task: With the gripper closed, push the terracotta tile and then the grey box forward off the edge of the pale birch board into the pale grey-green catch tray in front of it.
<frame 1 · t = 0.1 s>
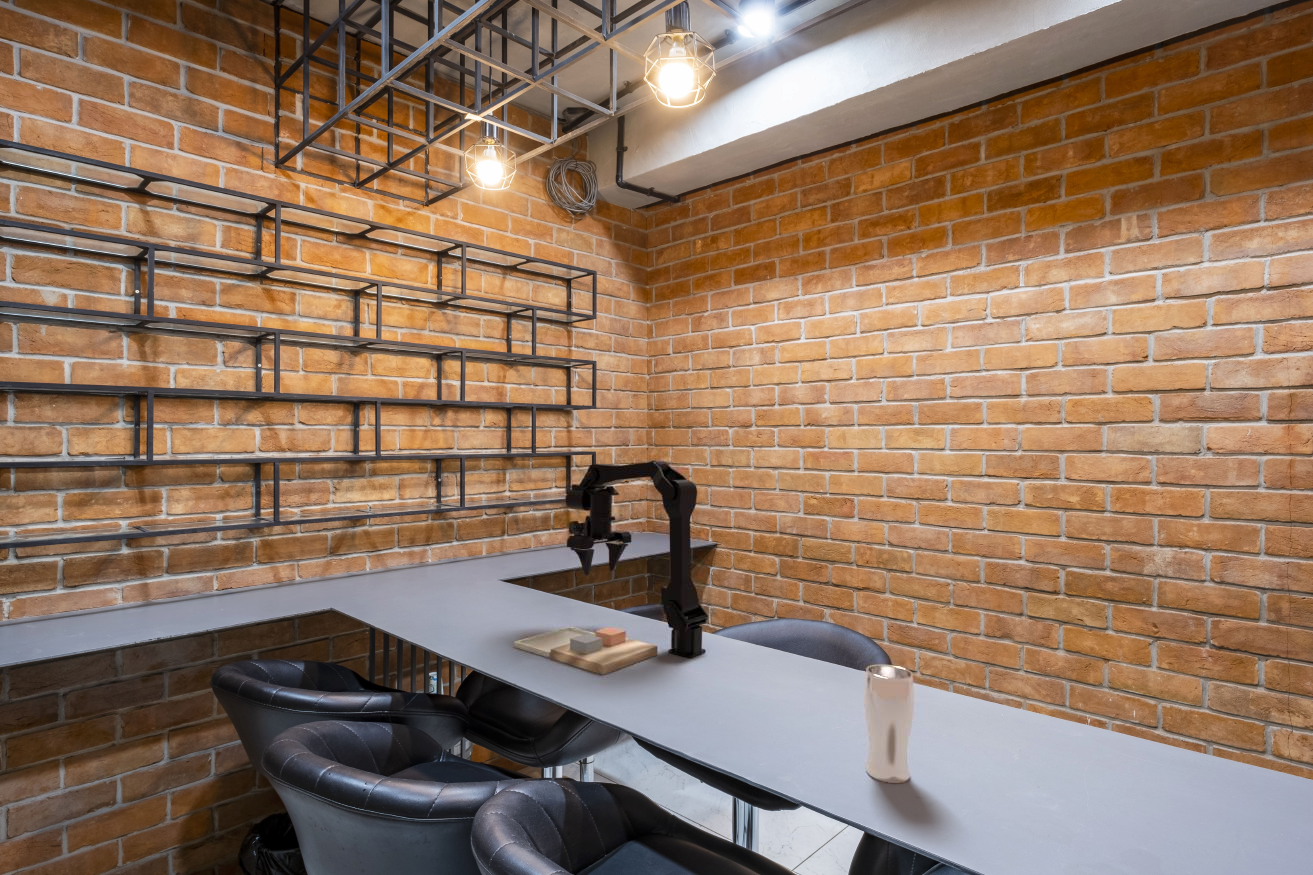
hand: (599, 572, 172), 15 cm above the counter, fingers open, 9 cm apart
catch tray: (559, 643, 159), on the counter
beer glass: (887, 774, 98), on the counter
birch board: (604, 656, 150), on the counter
grey box: (585, 649, 148), point 2 cm above the counter, touching birch board
terracotta tile: (610, 641, 155), point 2 cm above the counter, touching birch board
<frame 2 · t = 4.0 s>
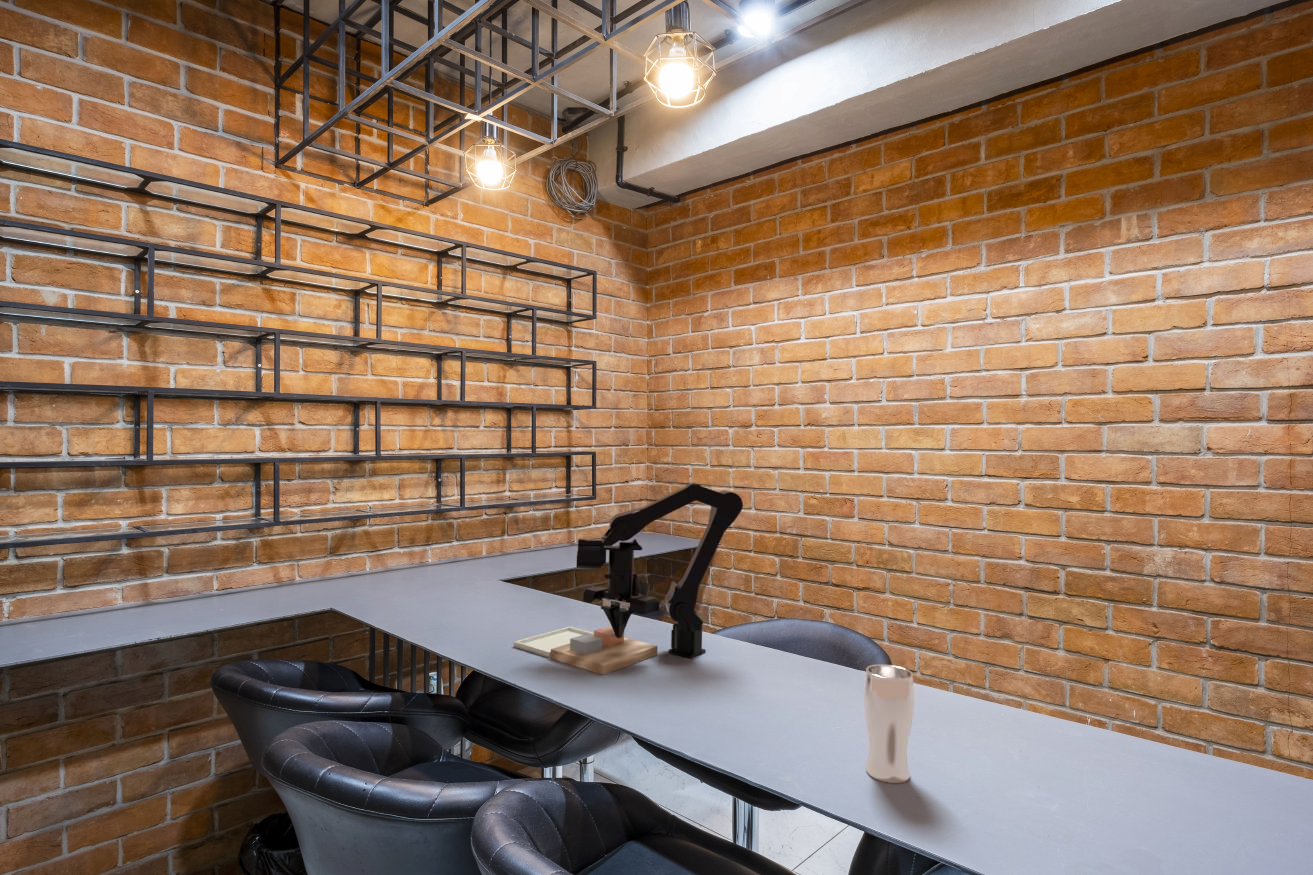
hand: (619, 637, 153), 4 cm above the counter, fingers closed
terracotta tile: (608, 641, 155), point 2 cm above the counter, touching birch board, gripper
everything else where it was.
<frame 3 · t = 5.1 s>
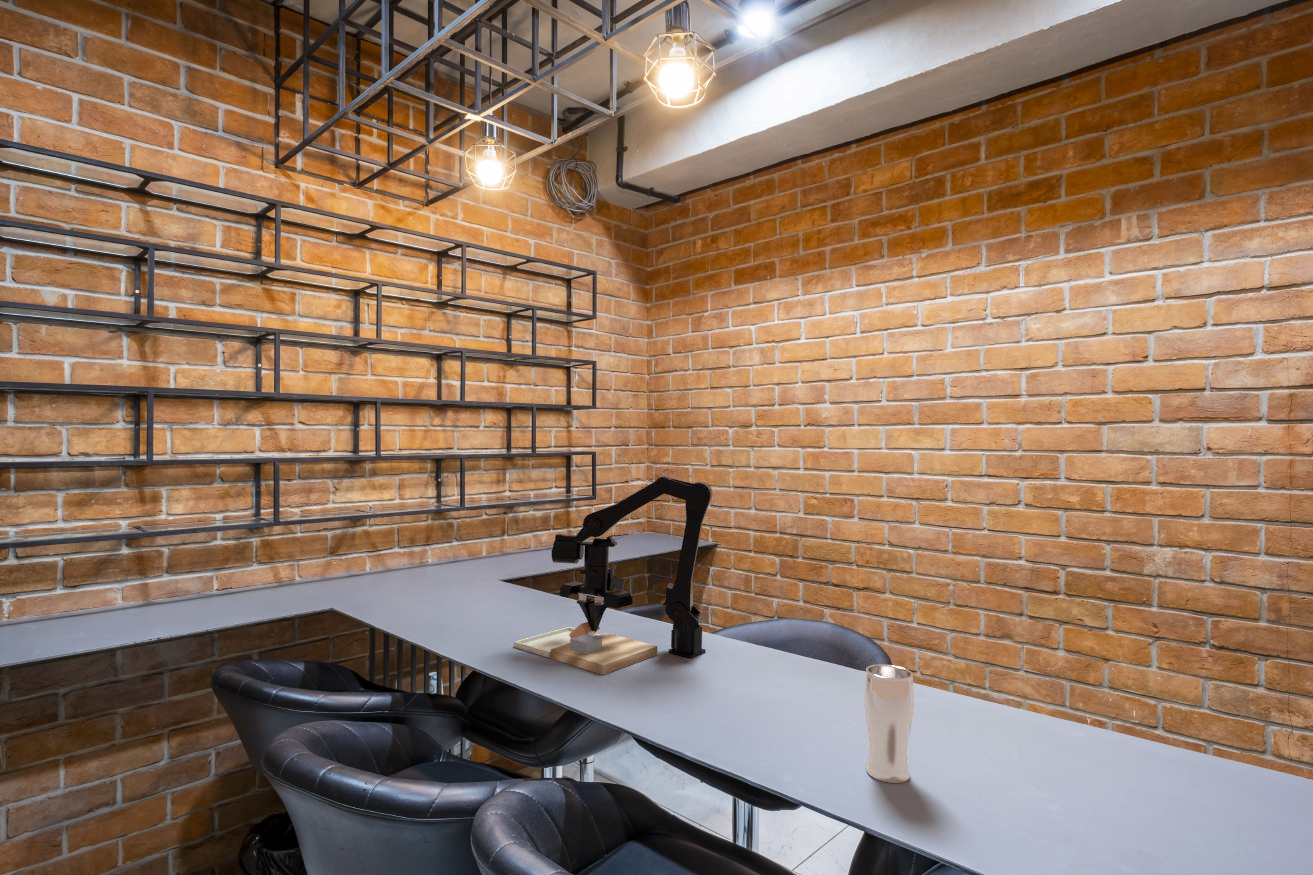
hand: (594, 630, 158), 4 cm above the counter, fingers closed
terracotta tile: (586, 636, 159), point 2 cm above the counter, tilted 40°, touching gripper
everything else where it was.
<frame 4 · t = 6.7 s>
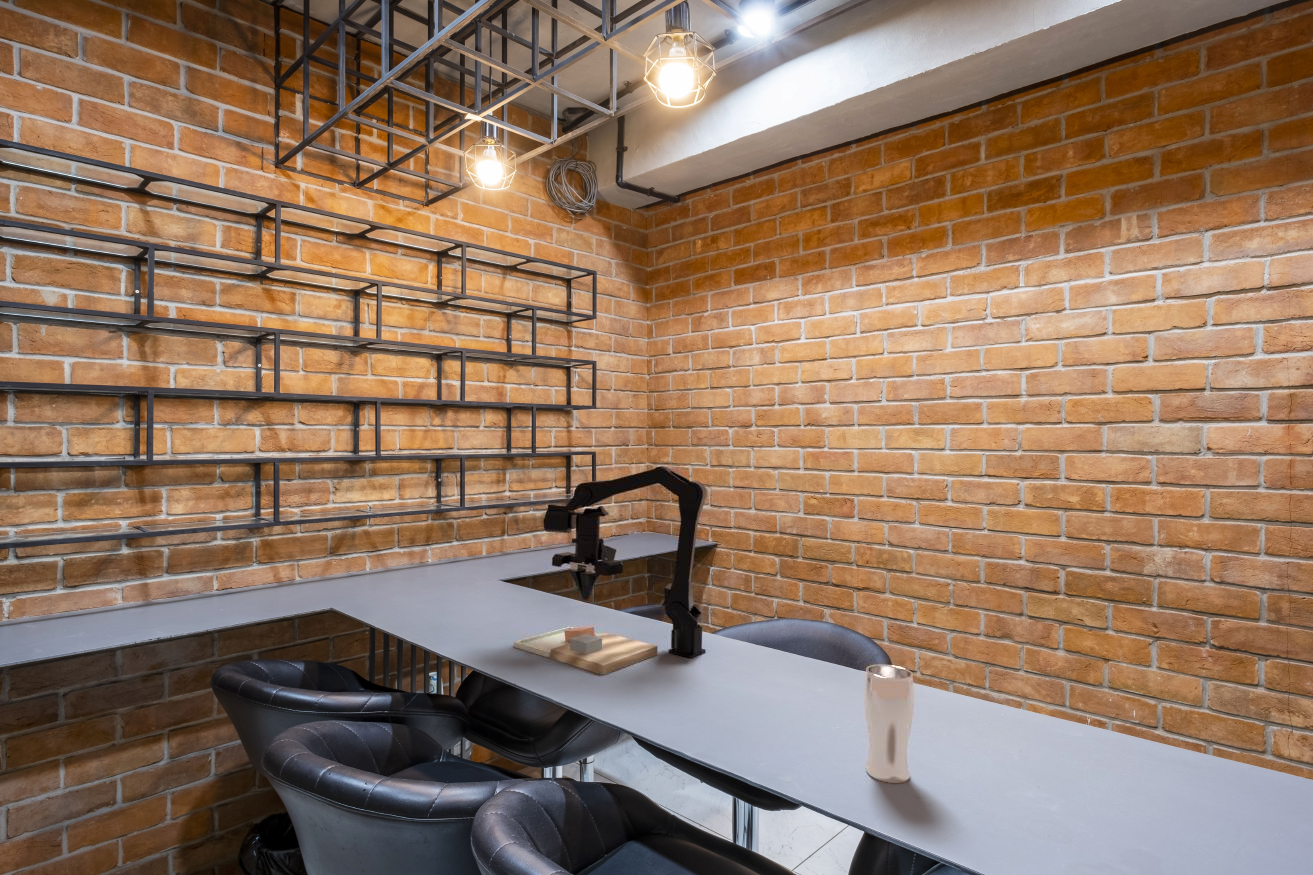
hand: (585, 599, 160), 11 cm above the counter, fingers closed
terracotta tile: (580, 639, 160), point 1 cm above the counter, tilted 10°, touching catch tray
everything else where it was.
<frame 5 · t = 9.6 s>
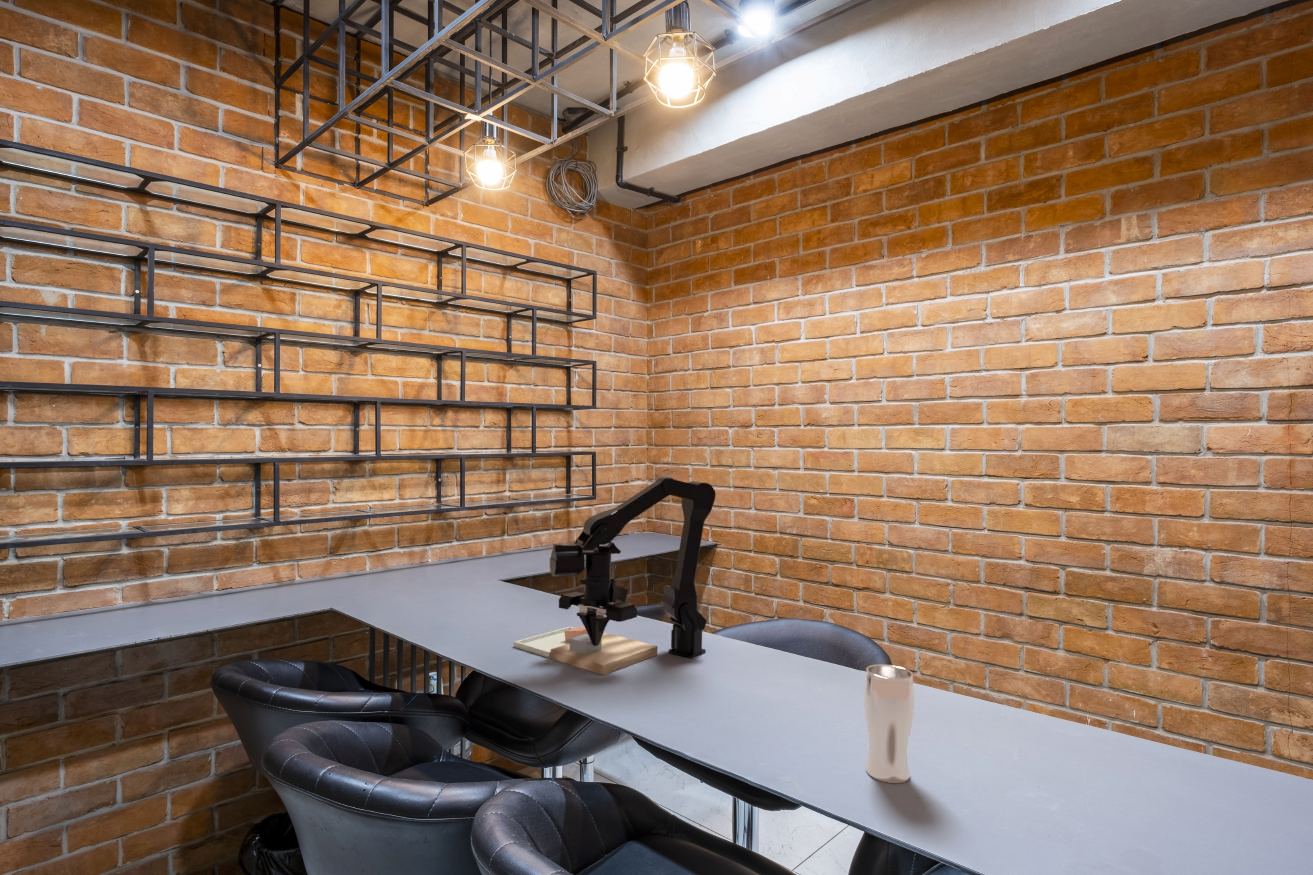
hand: (595, 645, 146), 4 cm above the counter, fingers closed
grey box: (585, 649, 148), point 2 cm above the counter, touching birch board, gripper
everything else where it was.
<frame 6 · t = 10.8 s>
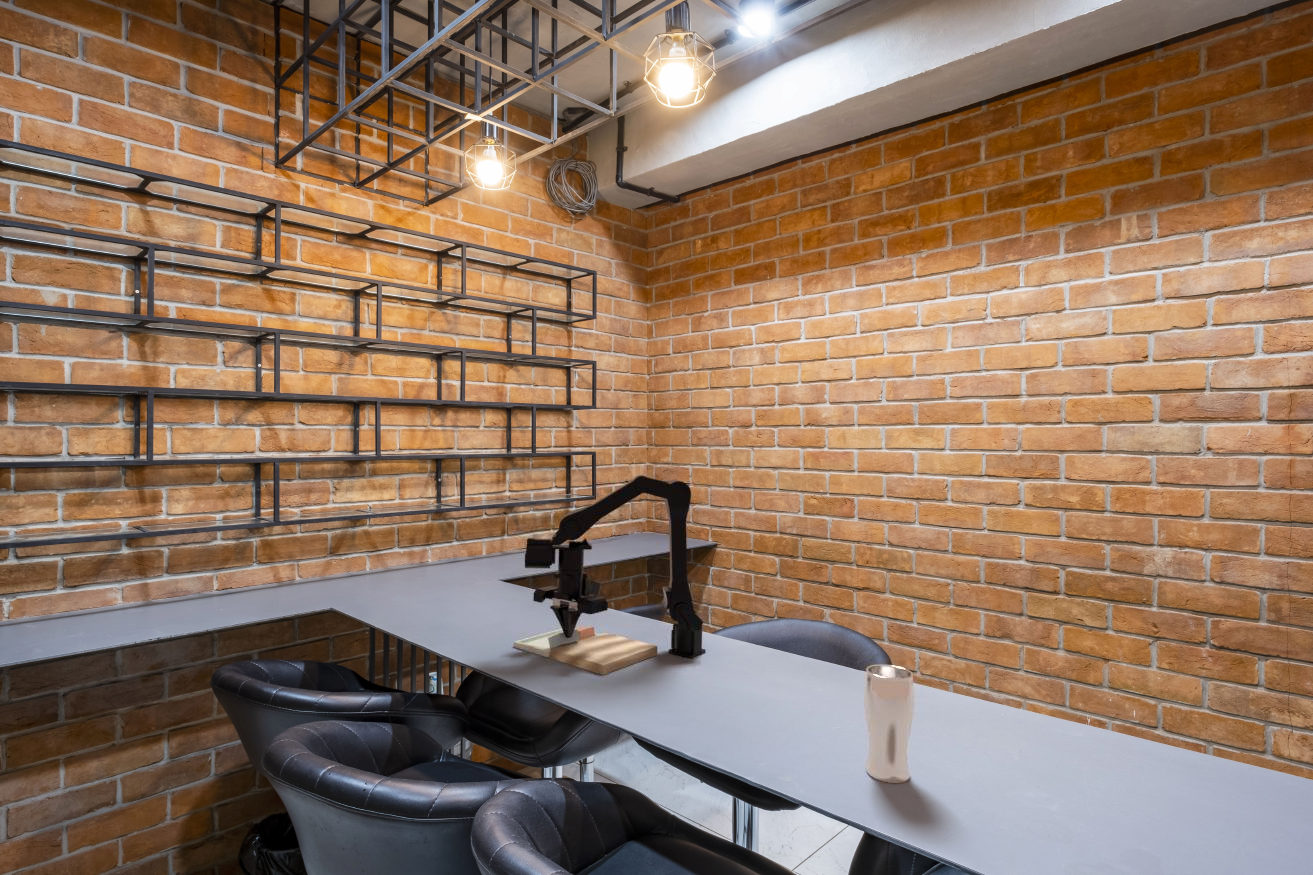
hand: (568, 637, 152), 4 cm above the counter, fingers closed
grey box: (565, 644, 153), point 1 cm above the counter, tilted 24°, touching catch tray, gripper
everything else where it was.
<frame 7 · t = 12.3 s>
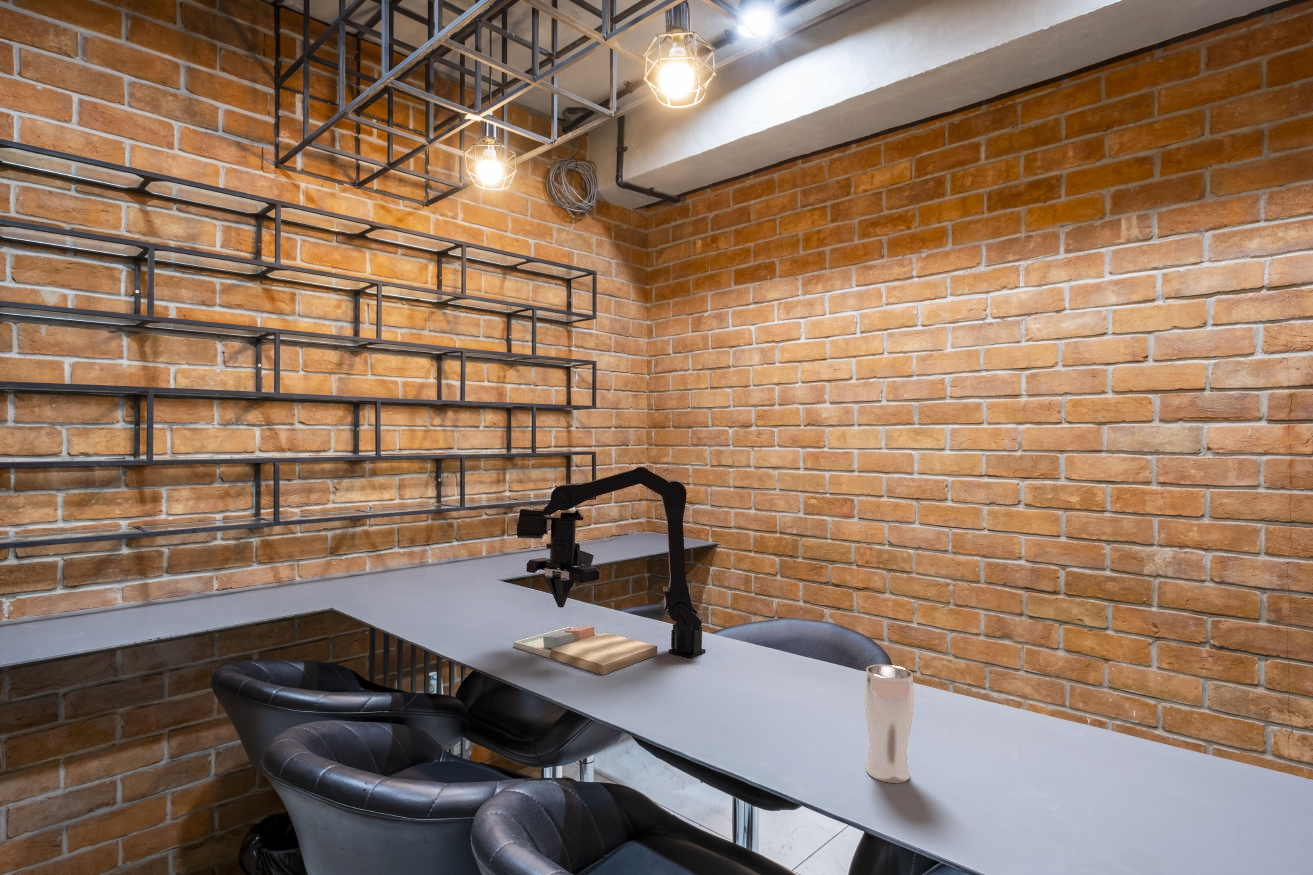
hand: (561, 607, 153), 10 cm above the counter, fingers closed
grey box: (559, 645, 154), point 1 cm above the counter, tilted 10°, touching catch tray
everything else where it was.
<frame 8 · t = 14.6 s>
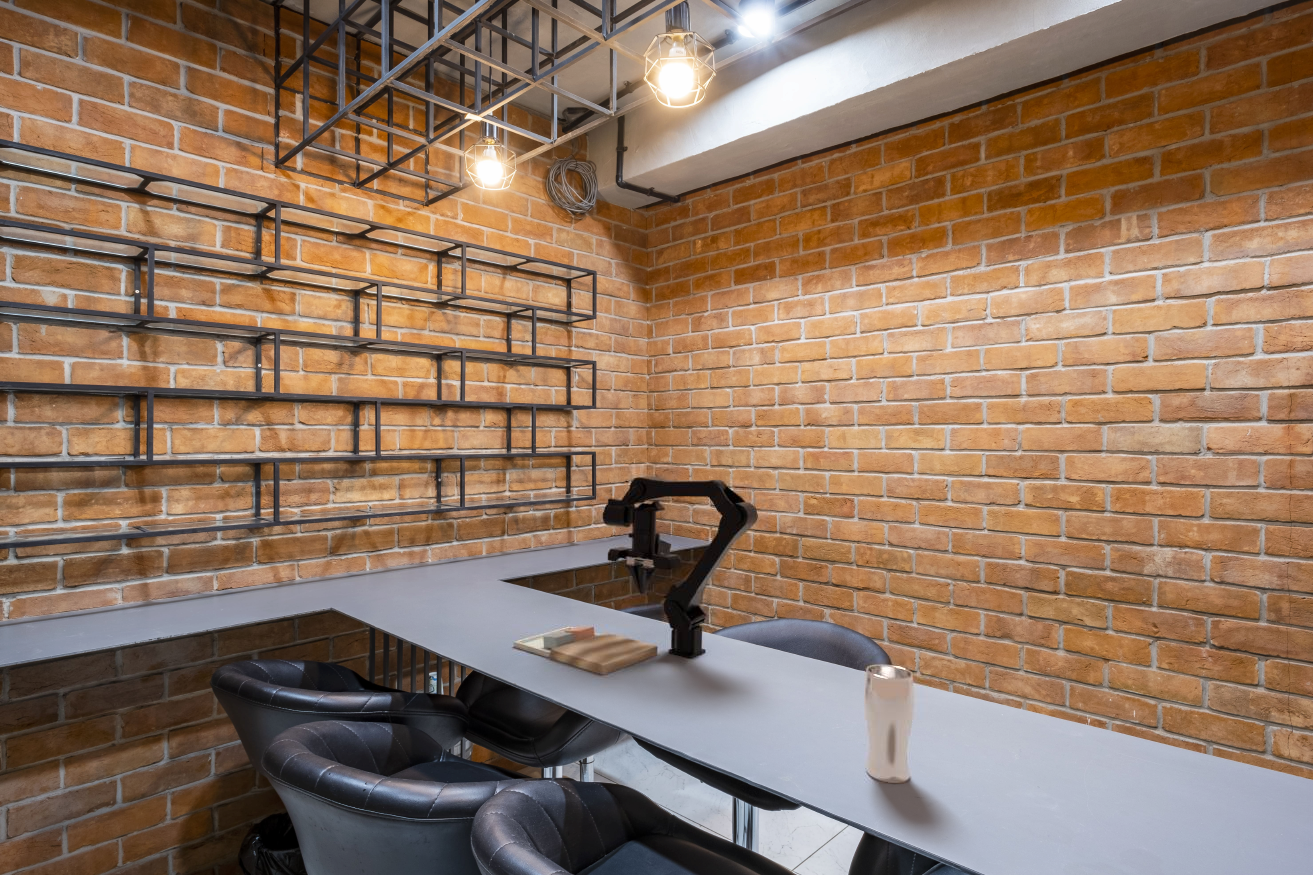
hand: (642, 593, 160), 12 cm above the counter, fingers closed
nothing on the counter moved.
at the end: terracotta tile inside the target area on the catch tray (4.8 cm from its centre), point 0.8 cm above the catch tray's base; grey box inside the target area on the catch tray (4.7 cm from its centre), point 0.8 cm above the catch tray's base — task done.
